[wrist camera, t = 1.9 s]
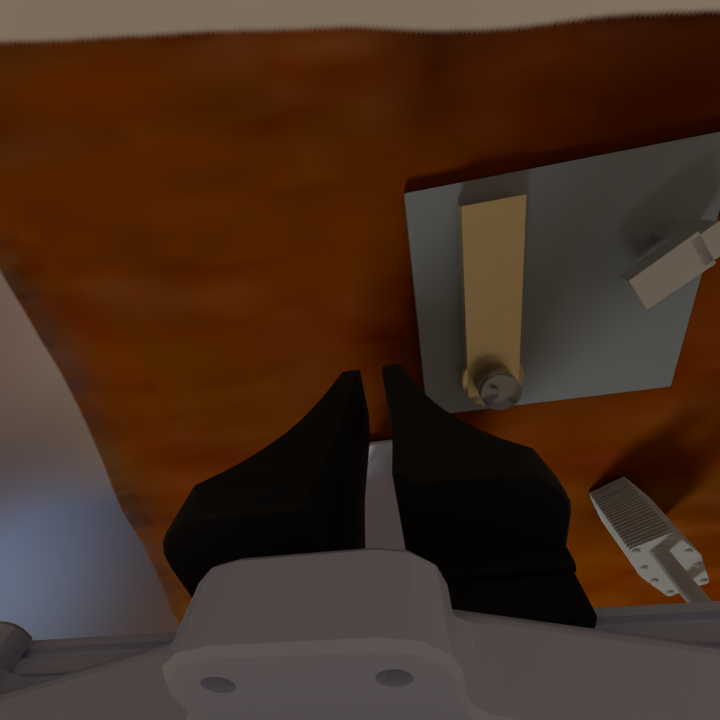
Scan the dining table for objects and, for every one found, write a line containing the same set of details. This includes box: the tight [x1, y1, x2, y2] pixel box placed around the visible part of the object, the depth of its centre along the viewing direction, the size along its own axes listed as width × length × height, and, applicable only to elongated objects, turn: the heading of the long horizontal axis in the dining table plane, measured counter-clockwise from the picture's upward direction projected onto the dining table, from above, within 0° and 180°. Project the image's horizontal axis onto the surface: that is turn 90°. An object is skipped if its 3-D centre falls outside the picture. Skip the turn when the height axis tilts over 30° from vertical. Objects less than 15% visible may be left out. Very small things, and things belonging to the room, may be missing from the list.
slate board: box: [403, 132, 720, 413], centre depth 19 cm, size 14×16×1 cm
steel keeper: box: [618, 217, 720, 309], centre depth 17 cm, size 4×2×2 cm, turn 135°
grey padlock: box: [589, 477, 712, 603], centre depth 23 cm, size 7×4×10 cm, turn 42°
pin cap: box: [476, 367, 522, 410], centre depth 19 cm, size 2×2×1 cm
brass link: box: [457, 194, 526, 405], centre depth 19 cm, size 12×4×1 cm, turn 10°
